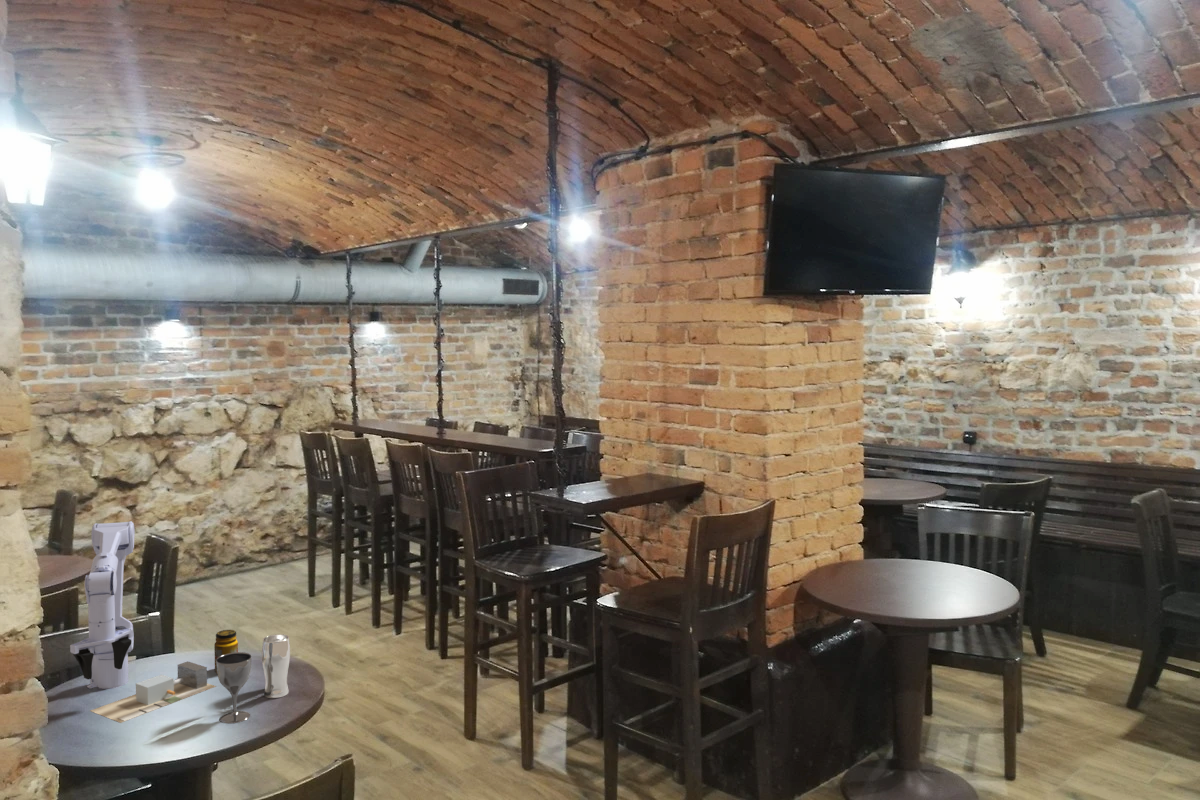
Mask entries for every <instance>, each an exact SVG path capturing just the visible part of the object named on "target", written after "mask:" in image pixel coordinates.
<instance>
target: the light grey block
mask: <svg viewBox="0 0 1200 800" xmlns="http://www.w3.org/2000/svg"><path fill="white" fill-rule="evenodd" d="M182 682H183V678H179V679H178V678H176V679H174V677H169V676H168V675H164V674H159V675H157V676H154V677H150V678H148V679H145V680H142V681H139V682H136V683H135V694H136V701H138V702H141V703H144V704H146V705H150V704H152V703H155V702H158V701H160V700H163V699H166V698H168V697H171V696H174V694H175V692H174V685H176V684H179V683H182Z"/></svg>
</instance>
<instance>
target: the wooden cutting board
mask: <svg viewBox="0 0 1200 800" xmlns="http://www.w3.org/2000/svg"><path fill="white" fill-rule="evenodd" d="M216 687H217V685H213V684H210V683H208V682H207V686H205V687H202V688H198V689H194V688H191V687H188V686H185V685H182V684H176V685H174V692H175V694H174V696H171V697H168V698H166V699H163V700H160V701H158V702H155V703H152V704H150V705H146V704H144V703H141V702H138V701H136V693H135V694H131V695H130V696H127V697H124V698H120V699H118V700H115V701H113V702H110V703H108V704H105V705H102V706H100V707H96V708H94V709H91V710H89V712H91V713H95V714H96V715H99V716H102V717H104V718H106V719H110V720H112V721H114V722H117V723H119V724H123V723H124V722H127V721H130V720H132V719H135V718H137V717H140V716H144V715H146V714H148V713H151V712H153V711H156V710H158V709H159V710H160V709H161V708H163V707H164V708H165V707H166V706H169V705H172V704H174V703H176V702H180V701H183V700H186V699H188V698H191V697H192V696H195V695H197V694H200V693H202V692H205V691H208V690H211V689H213V688H216Z"/></svg>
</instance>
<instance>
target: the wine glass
mask: <svg viewBox="0 0 1200 800" xmlns="http://www.w3.org/2000/svg"><path fill="white" fill-rule="evenodd" d="M216 666H217V673H216V674H217V677H218V681H219V683H220V684H221V686H223V687H224V688H225V689H226V690H227V691H228V692H229V693H230V695H231V699H232V711H230V712H226V713H224V714H222V715H221V716H220V717H219V720H218V721H219V722H220V723H223V724H236V723H241V722H244V721H246V720H248V719H249V718H250V717H251V713H250V712H249V711H245V710H237V702H238V696H239V695H238V694H239V692H240V690H241V689H242V688H243V686H245V685H246V683H247V682H248V681H249V678H250V674H251V672H252V671H251V669H252V655H251V654H250V653H248V652H245V651H243V652H241V651H238V652H235V653H229V654H225V655H222V656H220V657H218V658H217V660H216Z"/></svg>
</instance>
